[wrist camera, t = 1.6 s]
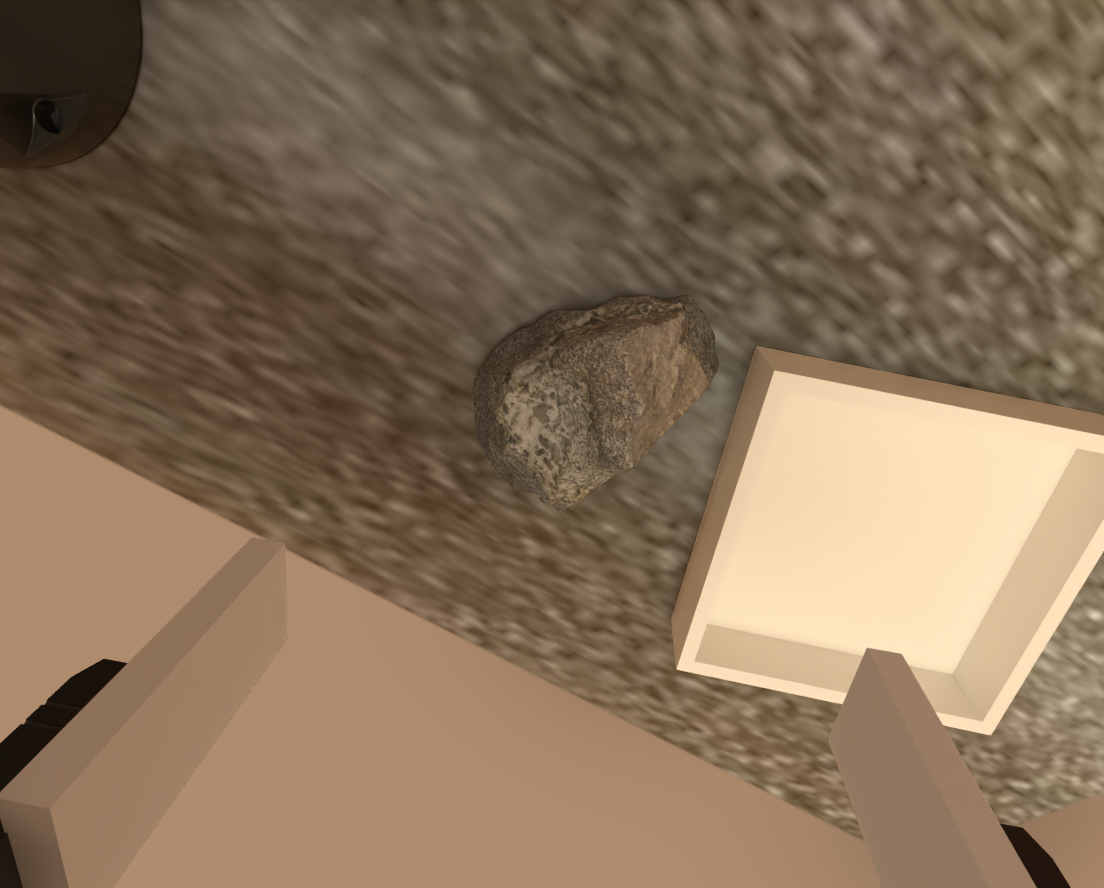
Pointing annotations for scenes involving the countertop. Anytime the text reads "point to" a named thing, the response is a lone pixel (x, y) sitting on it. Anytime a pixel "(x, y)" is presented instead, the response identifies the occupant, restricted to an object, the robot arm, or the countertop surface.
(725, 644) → the dish
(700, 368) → the rock
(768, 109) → the countertop surface
